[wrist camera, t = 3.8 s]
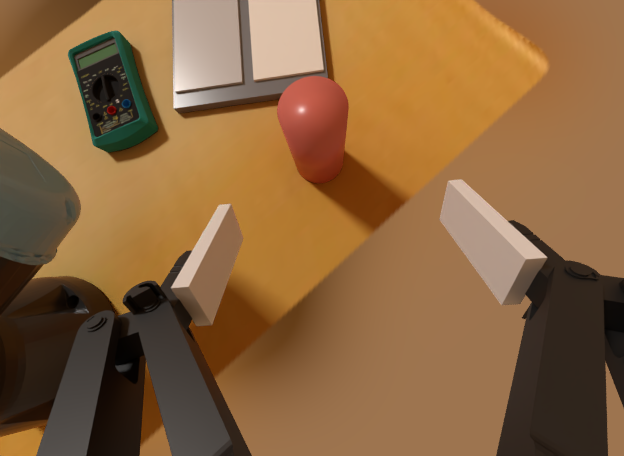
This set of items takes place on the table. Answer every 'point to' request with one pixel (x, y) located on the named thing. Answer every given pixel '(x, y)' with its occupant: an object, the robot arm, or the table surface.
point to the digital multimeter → (112, 92)
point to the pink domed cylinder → (315, 126)
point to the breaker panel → (243, 50)
